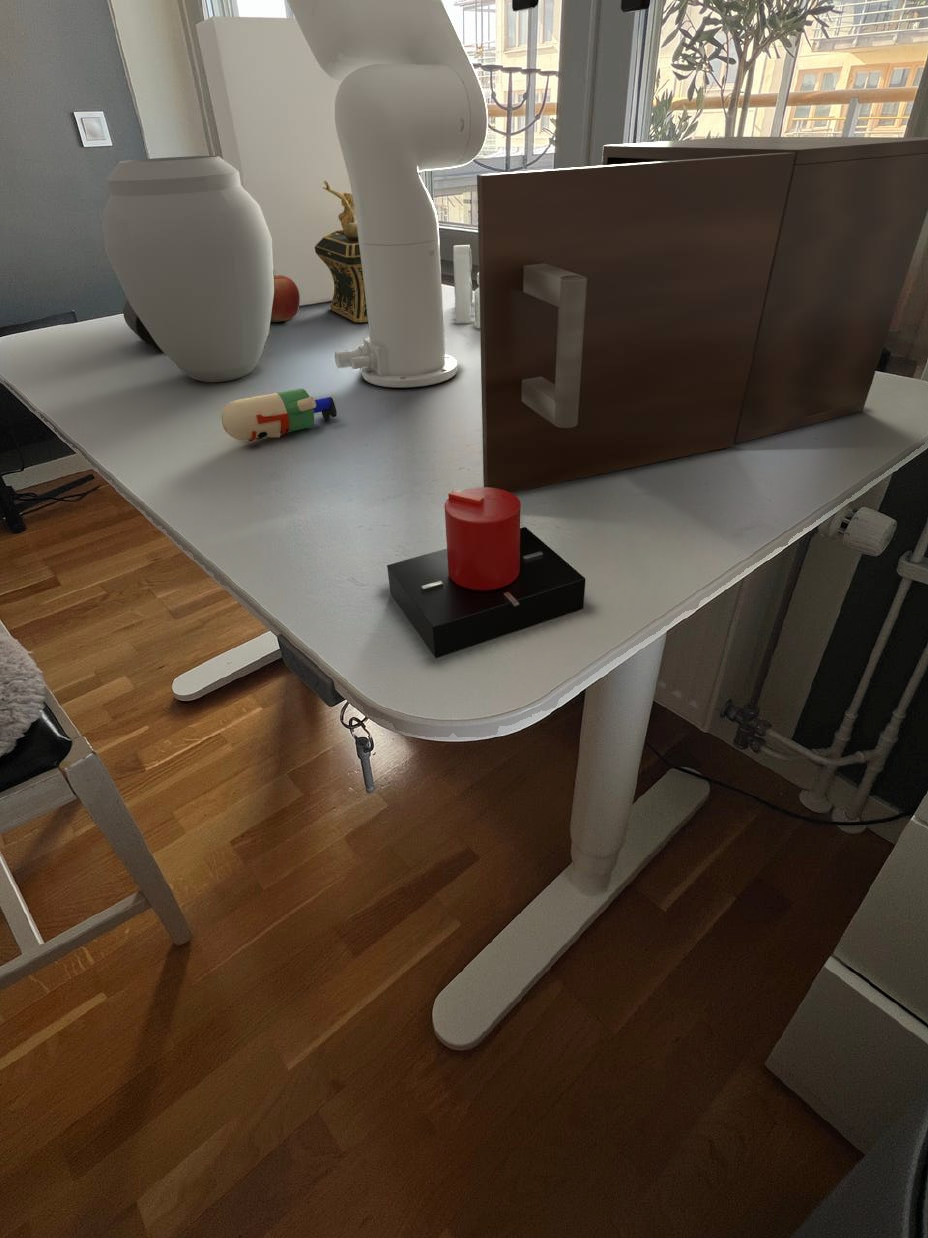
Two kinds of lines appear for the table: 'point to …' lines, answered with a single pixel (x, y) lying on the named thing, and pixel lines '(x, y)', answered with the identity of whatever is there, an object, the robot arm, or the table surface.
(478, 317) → the pill bottle
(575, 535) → the table surface
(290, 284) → the apple
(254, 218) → the vase
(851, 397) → the cabinet
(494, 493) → the red rotary knob
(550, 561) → the valve panel
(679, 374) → the cabinet door
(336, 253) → the decorative box
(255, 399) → the toy figurine
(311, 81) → the storage box
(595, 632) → the table surface
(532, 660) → the table surface
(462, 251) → the handheld gaming console
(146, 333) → the end cap
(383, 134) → the robot arm
